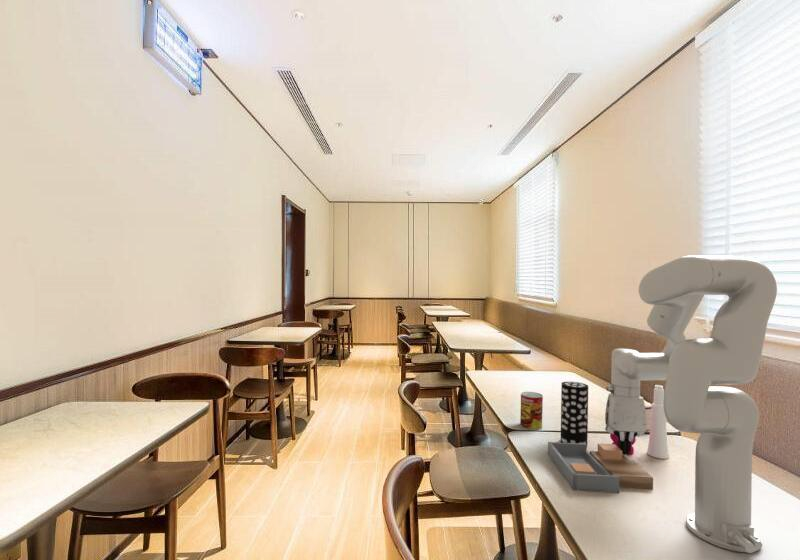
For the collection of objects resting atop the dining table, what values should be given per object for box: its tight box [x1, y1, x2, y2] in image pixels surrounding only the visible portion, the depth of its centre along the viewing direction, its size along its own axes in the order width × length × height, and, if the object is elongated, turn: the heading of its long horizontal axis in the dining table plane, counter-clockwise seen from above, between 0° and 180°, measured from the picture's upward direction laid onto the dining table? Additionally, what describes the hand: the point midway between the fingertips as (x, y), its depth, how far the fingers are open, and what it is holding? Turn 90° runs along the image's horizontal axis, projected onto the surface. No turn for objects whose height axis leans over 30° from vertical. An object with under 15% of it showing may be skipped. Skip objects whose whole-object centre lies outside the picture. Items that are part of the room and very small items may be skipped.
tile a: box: [570, 463, 595, 474], centre depth 111 cm, size 5×5×2 cm
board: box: [589, 450, 654, 490], centre depth 115 cm, size 16×10×3 cm, turn 176°
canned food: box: [519, 391, 544, 431], centre depth 152 cm, size 8×8×12 cm
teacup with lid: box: [644, 399, 652, 432], centre depth 153 cm, size 12×9×12 cm
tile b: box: [597, 443, 622, 460], centre depth 120 cm, size 5×5×2 cm
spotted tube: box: [560, 381, 589, 445], centre depth 136 cm, size 8×8×20 cm
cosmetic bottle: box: [646, 384, 670, 460], centre depth 128 cm, size 6×6×22 cm
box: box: [547, 441, 620, 494], centre depth 115 cm, size 22×12×4 cm, turn 176°
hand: (624, 452), depth 119 cm, fingers closed
